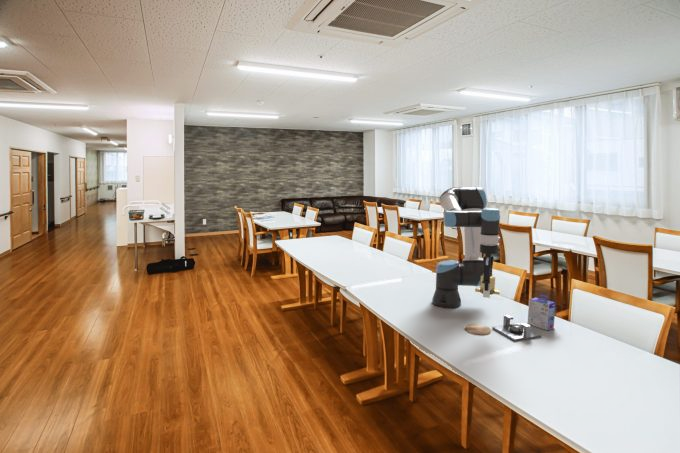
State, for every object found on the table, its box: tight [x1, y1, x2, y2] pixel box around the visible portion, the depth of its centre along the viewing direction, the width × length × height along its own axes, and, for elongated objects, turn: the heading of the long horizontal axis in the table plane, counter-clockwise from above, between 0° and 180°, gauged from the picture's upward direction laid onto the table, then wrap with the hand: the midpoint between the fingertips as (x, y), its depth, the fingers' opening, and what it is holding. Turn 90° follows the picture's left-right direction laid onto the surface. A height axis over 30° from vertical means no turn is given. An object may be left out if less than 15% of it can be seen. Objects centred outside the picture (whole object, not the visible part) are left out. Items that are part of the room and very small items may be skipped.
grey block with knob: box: [491, 314, 543, 342], centre depth 169 cm, size 14×14×6 cm
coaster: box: [464, 323, 492, 336], centre depth 173 cm, size 11×11×1 cm
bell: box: [474, 275, 501, 296], centre depth 170 cm, size 10×6×7 cm, turn 63°
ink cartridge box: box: [526, 293, 556, 331], centre depth 175 cm, size 10×6×14 cm, turn 32°
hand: (487, 294), depth 170 cm, fingers closed on bell, 6 cm apart
